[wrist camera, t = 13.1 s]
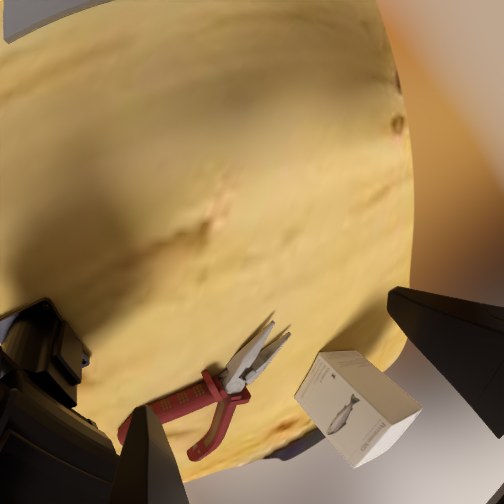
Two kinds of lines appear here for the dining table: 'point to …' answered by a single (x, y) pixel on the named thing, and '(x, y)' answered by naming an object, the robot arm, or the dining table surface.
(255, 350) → the pliers
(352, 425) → the supplement box
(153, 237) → the dining table surface
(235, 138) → the dining table surface
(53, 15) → the docking plate
